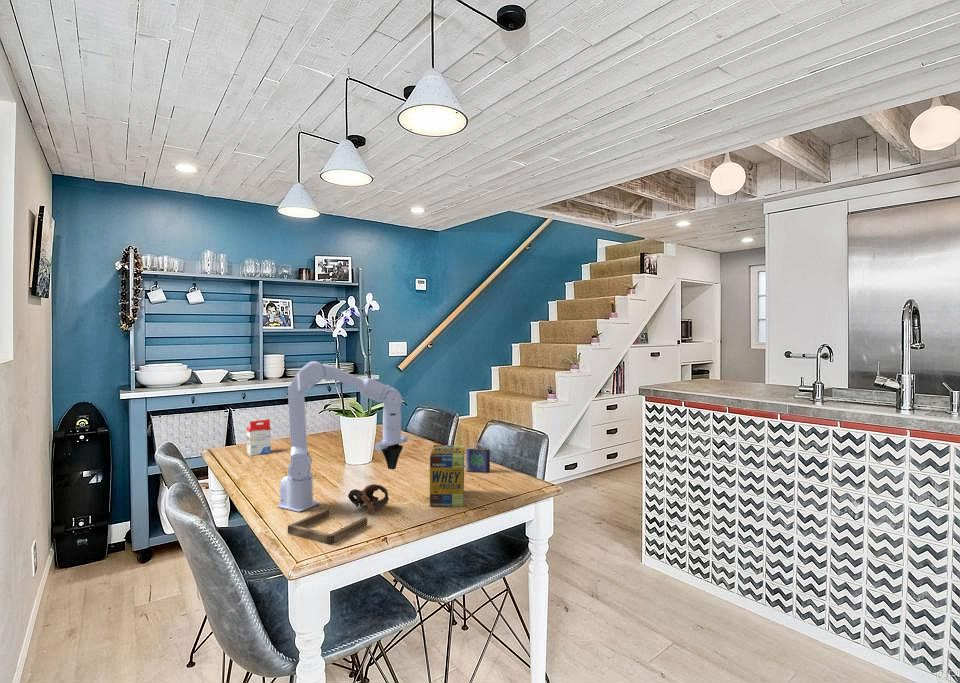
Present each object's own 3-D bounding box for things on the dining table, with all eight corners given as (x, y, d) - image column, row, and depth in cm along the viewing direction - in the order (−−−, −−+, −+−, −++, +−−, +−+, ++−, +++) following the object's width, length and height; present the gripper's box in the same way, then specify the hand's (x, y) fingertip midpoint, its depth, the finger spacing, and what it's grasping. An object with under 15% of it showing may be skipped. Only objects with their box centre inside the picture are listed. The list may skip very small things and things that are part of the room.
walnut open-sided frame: (287, 533, 131) (287, 525, 130) (326, 515, 143) (326, 508, 143) (330, 544, 124) (330, 536, 124) (367, 525, 136) (367, 517, 136)
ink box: (267, 450, 218) (267, 417, 218) (270, 453, 214) (270, 419, 214) (246, 453, 213) (246, 419, 212) (249, 456, 209) (249, 421, 209)
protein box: (429, 507, 150) (429, 456, 150) (433, 490, 166) (433, 444, 165) (463, 507, 151) (464, 456, 150) (464, 490, 166) (464, 444, 166)
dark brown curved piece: (386, 503, 155) (392, 484, 151) (382, 527, 147) (388, 507, 143) (348, 495, 153) (353, 476, 149) (341, 519, 145) (346, 499, 141)
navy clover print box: (465, 471, 188) (465, 443, 187) (466, 469, 191) (467, 442, 190) (489, 473, 186) (489, 445, 186) (490, 471, 189) (490, 443, 189)
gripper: (388, 431, 150) (387, 476, 150) (415, 423, 162) (415, 464, 163) (369, 429, 153) (369, 473, 153) (397, 421, 166) (397, 462, 166)
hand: (391, 468), depth 158 cm, fingers closed
